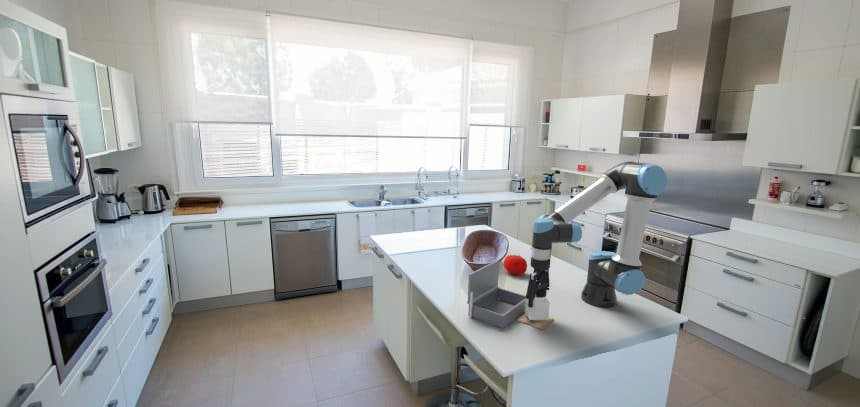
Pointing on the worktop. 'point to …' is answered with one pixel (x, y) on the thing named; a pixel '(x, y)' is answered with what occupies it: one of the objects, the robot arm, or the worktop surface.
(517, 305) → the case
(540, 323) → the mat
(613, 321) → the worktop surface
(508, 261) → the tomato
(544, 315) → the container
